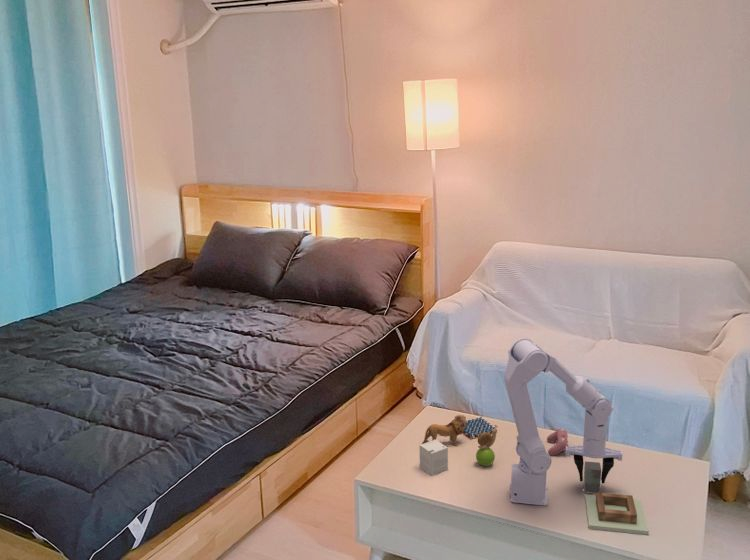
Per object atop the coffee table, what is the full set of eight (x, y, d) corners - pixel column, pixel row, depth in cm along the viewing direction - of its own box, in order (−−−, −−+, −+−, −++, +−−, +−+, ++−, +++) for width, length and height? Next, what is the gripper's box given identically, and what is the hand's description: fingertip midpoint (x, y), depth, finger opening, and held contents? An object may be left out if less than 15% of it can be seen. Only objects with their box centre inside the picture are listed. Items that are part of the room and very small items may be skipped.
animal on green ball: (501, 466, 206) (501, 428, 203) (481, 471, 203) (482, 433, 200) (491, 457, 211) (492, 421, 207) (472, 462, 208) (473, 425, 205)
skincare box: (435, 461, 209) (435, 438, 208) (448, 469, 205) (448, 447, 203) (419, 467, 206) (418, 444, 204) (431, 476, 201) (431, 453, 199)
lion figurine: (463, 436, 224) (463, 410, 221) (469, 444, 219) (469, 418, 216) (418, 442, 220) (418, 416, 218) (423, 451, 215) (423, 424, 213)
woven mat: (452, 428, 230) (452, 422, 230) (480, 421, 235) (480, 415, 234) (469, 441, 221) (469, 436, 221) (498, 434, 225) (498, 429, 225)
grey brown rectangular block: (584, 491, 192) (585, 468, 190) (583, 484, 196) (584, 461, 194) (599, 493, 191) (601, 470, 189) (598, 485, 195) (599, 462, 193)
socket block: (588, 528, 176) (589, 516, 175) (585, 497, 189) (585, 486, 188) (648, 534, 173) (649, 522, 172) (640, 502, 186) (641, 491, 185)
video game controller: (560, 461, 210) (572, 443, 208) (546, 454, 211) (558, 436, 208) (558, 445, 220) (570, 428, 217) (545, 439, 220) (556, 421, 218)
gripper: (621, 430, 191) (618, 475, 195) (566, 426, 194) (564, 470, 198) (624, 443, 185) (621, 489, 188) (567, 438, 188) (565, 484, 191)
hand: (591, 480), depth 193 cm, fingers open, 5 cm apart
